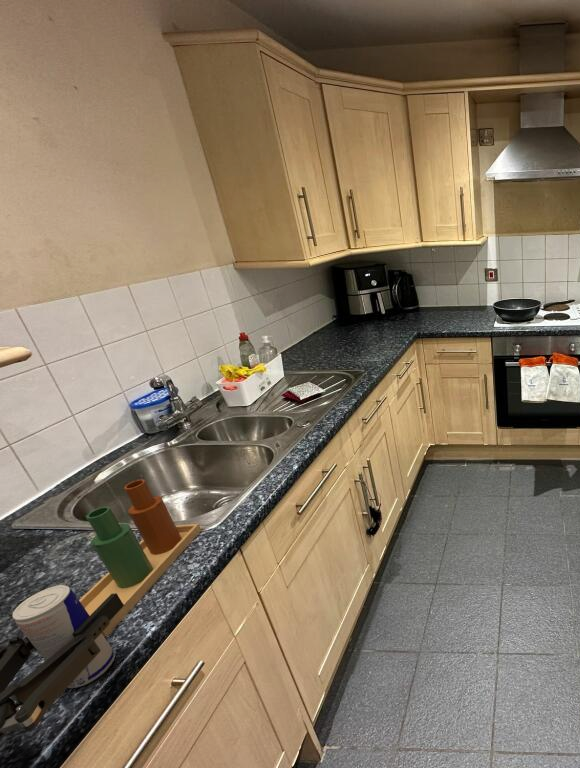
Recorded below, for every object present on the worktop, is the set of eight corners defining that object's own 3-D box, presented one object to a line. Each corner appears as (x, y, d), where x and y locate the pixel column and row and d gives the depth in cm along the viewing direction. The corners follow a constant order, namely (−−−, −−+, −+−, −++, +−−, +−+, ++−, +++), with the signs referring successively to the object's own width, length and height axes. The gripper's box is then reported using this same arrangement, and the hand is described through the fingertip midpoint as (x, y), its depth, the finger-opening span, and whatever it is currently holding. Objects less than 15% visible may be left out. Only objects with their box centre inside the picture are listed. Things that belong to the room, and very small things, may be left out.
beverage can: (117, 669, 61) (69, 599, 55) (65, 699, 58) (7, 628, 52) (116, 644, 65) (70, 576, 59) (67, 670, 62) (13, 601, 56)
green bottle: (111, 591, 75) (68, 524, 69) (133, 568, 80) (96, 503, 73) (140, 588, 75) (100, 521, 69) (160, 566, 80) (125, 501, 73)
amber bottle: (144, 557, 82) (109, 493, 76) (163, 538, 87) (131, 477, 81) (170, 555, 82) (137, 491, 76) (188, 536, 87) (158, 475, 81)
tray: (49, 642, 66) (42, 634, 65) (159, 534, 88) (155, 527, 87) (106, 637, 66) (101, 629, 66) (202, 530, 89) (198, 523, 88)
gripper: (-170, 828, 43) (48, 623, 64) (11, 809, 43) (167, 612, 65) (-225, 791, 40) (22, 589, 61) (-30, 771, 40) (148, 578, 62)
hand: (97, 601), depth 63 cm, fingers closed on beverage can, 6 cm apart
